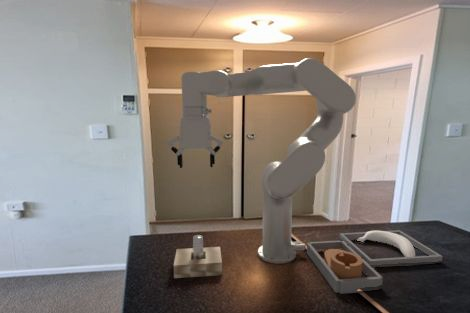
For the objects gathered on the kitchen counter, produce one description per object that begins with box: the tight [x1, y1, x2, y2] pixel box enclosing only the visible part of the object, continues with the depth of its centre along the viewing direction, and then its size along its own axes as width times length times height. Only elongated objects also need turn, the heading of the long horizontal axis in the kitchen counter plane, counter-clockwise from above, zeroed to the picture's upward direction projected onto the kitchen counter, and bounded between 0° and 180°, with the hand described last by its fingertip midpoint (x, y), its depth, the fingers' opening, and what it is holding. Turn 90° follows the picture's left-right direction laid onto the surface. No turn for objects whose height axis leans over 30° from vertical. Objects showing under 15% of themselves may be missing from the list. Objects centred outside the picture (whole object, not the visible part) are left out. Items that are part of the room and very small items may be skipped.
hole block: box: [173, 246, 223, 279], centre depth 89 cm, size 14×10×4 cm
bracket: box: [323, 249, 363, 279], centre depth 86 cm, size 18×8×7 cm, turn 172°
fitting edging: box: [306, 240, 384, 295], centre depth 87 cm, size 13×23×4 cm, turn 6°
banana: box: [357, 230, 416, 257], centre depth 98 cm, size 5×19×15 cm
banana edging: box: [338, 229, 443, 265], centre depth 98 cm, size 24×20×2 cm
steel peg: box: [192, 234, 204, 259], centre depth 88 cm, size 3×3×10 cm
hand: (196, 166), depth 92 cm, fingers open, 9 cm apart
